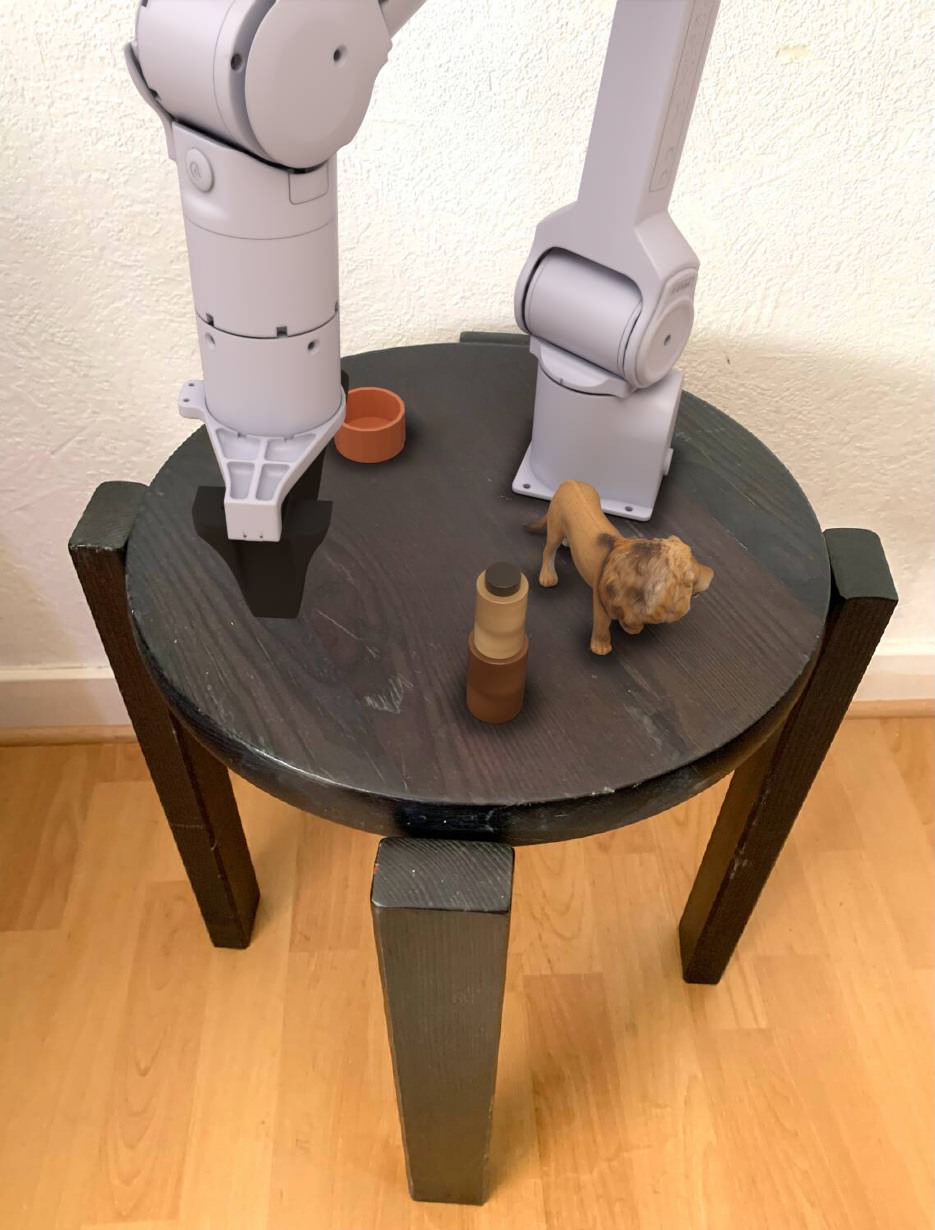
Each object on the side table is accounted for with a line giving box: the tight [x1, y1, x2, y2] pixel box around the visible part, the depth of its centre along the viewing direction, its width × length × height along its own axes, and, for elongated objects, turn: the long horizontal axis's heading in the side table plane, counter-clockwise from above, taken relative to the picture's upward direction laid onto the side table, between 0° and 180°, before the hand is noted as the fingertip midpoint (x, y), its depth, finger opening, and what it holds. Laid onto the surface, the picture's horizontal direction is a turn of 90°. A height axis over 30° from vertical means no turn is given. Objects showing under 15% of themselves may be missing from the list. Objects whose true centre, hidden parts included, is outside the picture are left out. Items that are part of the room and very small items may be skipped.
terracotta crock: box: [333, 386, 407, 464], centre depth 73 cm, size 5×5×3 cm
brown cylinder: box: [465, 628, 530, 725], centre depth 57 cm, size 3×3×5 cm
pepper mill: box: [473, 561, 530, 659], centre depth 53 cm, size 3×3×5 cm
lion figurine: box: [522, 479, 715, 656], centre depth 61 cm, size 15×5×9 cm, turn 33°
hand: (285, 558), depth 51 cm, fingers open, 7 cm apart
